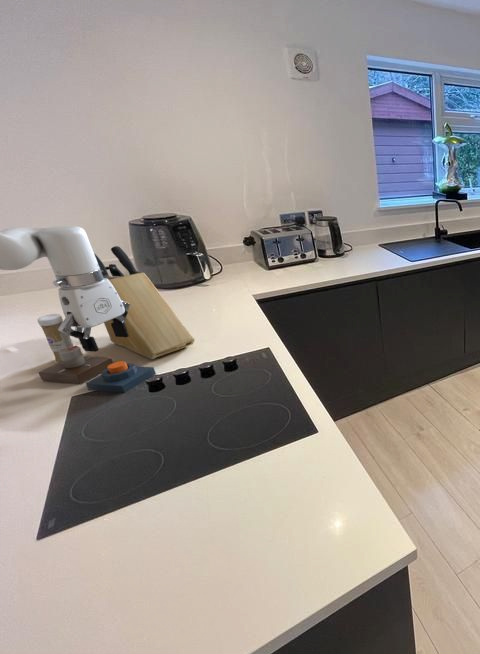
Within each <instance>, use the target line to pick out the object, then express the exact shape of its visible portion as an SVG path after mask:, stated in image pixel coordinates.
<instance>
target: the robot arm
mask: <svg viewBox="0 0 480 654" xmlns="http://www.w3.org/2000/svg"><path fill="white" fill-rule="evenodd" d="M89 239H90V238H89V237H88V234H87V232H86V230H85V229H84V228H82V227H80V226H77V225H60V226H58V225H57V226H52V227H21V226H19V227H9V228H5V229H3V230H1V231H0V270H2V271H18V270H21V269H24V268H26V267H28V266H30V265H32V263H34V262H35V261H38V260H39V259H42V258H47V260H48V262H49V264H50V267H51V269H52V271H53V273H54V276H55V279H56V280H53V281H52V284H53V286H55V287H60V288H58V289H57V290H58V298H59V302H60V305H61V306H60V307H61V310H62V313H63V315H64V319H63V322H62V324H61V325H60V327H59V328H58V331H59V332H62V333H64V334H67V335H69V336H70V337H73V338H75V339H78V340H79V343H80V345H81V348H82V349H83V350H84V351H85V352H90V353H91V352H92V353H96V352H99V347H98V344H97V342H96V339H95V338H94V336H91V331H92V328H95V327H97V326H100V325H101V324H102V325H103V324H104V322H107V321H109V320H111V321H113V322H112V323H111V326H112V328H113V331H114V333H115V336H116V337H128V336H129V335H128V332H127V329H126V326H125V323H124V322H126V319H125V318H126V316H127V314H128V309H129V306H130V304H129V303H127V302H123V301H121V299H120V297H119V295H118V293H117V291H116V290H115V288H114V287H113V285H112V284H111V282H110V281H109V280H108V279H107V278H103V275H102V273H101V270H100V267H99V265H98V262H97V260H96V257H95V255H94V253H95V252H94V250H93V247H92V245H91V242H90V240H89ZM72 327H73V328H74V329H73V328H72Z"/></svg>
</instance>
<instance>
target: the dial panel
mask: <svg viewBox="0 0 480 654" xmlns="http://www.w3.org/2000/svg"><path fill="white" fill-rule="evenodd" d="M83 356H84V358H85V361H86V363H85V364H83V365H81V366H78V367H74V368H65V366H64V364H63V362H62V361H58V362H56V363H55V364H52V365H50V366H48V367H46V368H44V369H42V370H39V371H38V372H37V373H38V375H39V377H40V379H41V381H42V383H57V384H70V385H82V384H84V383H85V384H86V383H87V382H89V381H91V380H93V379H94V378H96V377H98V376H100V375H101V373H102V372H103V371H104V370H105V369H107V367H108V365H110V364H112V363H114V362H113V359H112V357H107V356H106V357H105V356H93V355H83Z"/></svg>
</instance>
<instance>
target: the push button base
mask: <svg viewBox="0 0 480 654" xmlns="http://www.w3.org/2000/svg"><path fill="white" fill-rule="evenodd" d="M126 364H127V367H128V369H126V370H124V371H122V372H119V373H113V374H111V373H109V370H108V368H107V369H105V370H104V371H103V372H102V373H101V374H100V375H98V376H96V377H94V378H92V379H90V380H88V381H86V382H85V385H86V387H87V389H88V391H94V392H95V391H96V392H106V393H107V392H108V393H122V394H125V393H127V392H129V391H130V390H132V389H134V388H135V387H137V386H138V385H140V384H142V383H144V382H145V381H147V380H149V379H150V378H152V377H154V376H156V375H157V373H156V370H155V367H154V366H141V365H136V364H135V363H134V362H126Z"/></svg>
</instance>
